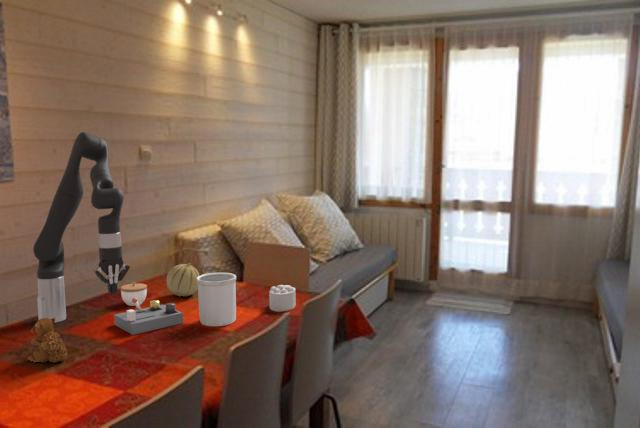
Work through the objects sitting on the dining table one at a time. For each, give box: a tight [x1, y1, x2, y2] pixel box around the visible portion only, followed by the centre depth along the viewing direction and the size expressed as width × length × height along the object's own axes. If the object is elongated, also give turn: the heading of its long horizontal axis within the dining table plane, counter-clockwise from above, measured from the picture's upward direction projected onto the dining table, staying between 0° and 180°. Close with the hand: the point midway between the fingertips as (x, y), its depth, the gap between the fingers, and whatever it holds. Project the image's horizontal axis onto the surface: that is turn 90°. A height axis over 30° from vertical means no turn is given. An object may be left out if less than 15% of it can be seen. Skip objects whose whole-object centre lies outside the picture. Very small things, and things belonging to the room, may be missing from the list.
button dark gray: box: [164, 302, 176, 313], centre depth 212 cm, size 4×4×3 cm
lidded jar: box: [120, 281, 148, 307], centre depth 239 cm, size 11×11×9 cm
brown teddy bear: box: [27, 318, 68, 364], centre depth 175 cm, size 10×14×13 cm
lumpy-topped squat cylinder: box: [268, 284, 297, 313], centre depth 232 cm, size 10×13×9 cm
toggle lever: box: [132, 298, 142, 311], centre depth 212 cm, size 2×2×6 cm
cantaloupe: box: [165, 262, 200, 297], centre depth 251 cm, size 15×15×15 cm
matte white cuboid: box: [126, 309, 136, 322], centre depth 202 cm, size 2×3×4 cm, turn 42°
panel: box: [113, 304, 184, 336], centre depth 211 cm, size 20×16×4 cm
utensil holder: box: [197, 272, 237, 327], centre depth 213 cm, size 15×15×18 cm
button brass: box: [149, 299, 161, 310], centre depth 216 cm, size 4×4×3 cm
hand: (113, 293), depth 196 cm, fingers closed
